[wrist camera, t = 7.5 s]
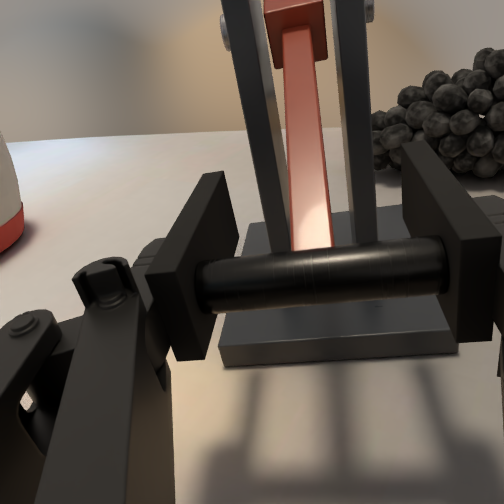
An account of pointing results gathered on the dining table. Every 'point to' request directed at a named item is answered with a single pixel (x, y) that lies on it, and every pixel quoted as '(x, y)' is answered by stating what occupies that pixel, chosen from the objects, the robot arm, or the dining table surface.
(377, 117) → the fruit
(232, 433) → the dining table surface
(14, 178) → the citrus juicer
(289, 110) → the lever
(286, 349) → the bracket
